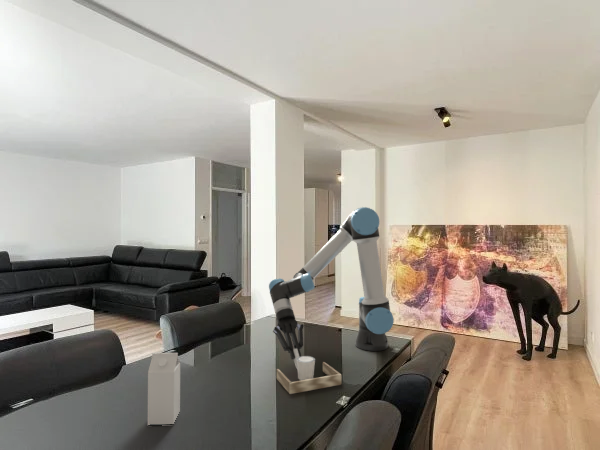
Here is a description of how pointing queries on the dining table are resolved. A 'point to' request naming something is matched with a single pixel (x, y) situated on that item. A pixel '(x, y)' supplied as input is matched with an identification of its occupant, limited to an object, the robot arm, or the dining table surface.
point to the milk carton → (163, 388)
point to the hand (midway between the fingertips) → (298, 366)
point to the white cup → (305, 367)
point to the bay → (311, 381)
